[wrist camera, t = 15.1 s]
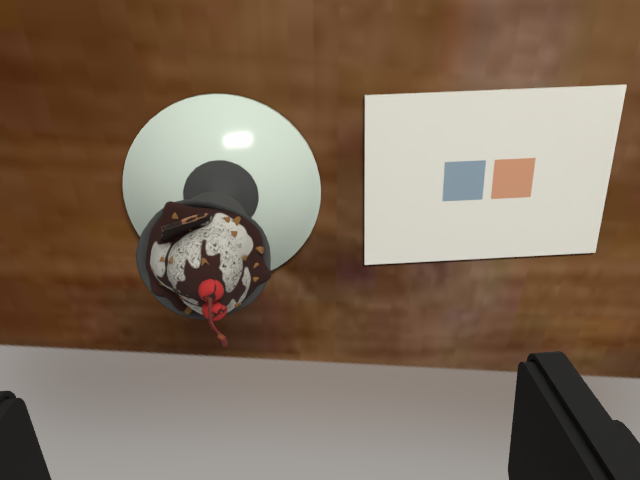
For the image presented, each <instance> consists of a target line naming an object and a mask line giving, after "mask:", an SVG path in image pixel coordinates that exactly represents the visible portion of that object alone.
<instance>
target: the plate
mask: <svg viewBox="0 0 640 480" xmlns="http://www.w3.org/2000/svg"><path fill="white" fill-rule="evenodd" d="M215 160H225V161H229V162H232V163H235V164H238V165H240V166H241V167H242V168H244V169H245V170H246V171H247V172H248V173H249V174H251V176H252V178H253V179H254V181H255V183H256V185H257V188H258V195H259V201H258V205H257V208H256V211H255V213H254V215H253V216H252V217H251V218H252V219H253V220H255V221H256V222H257V223H258V225H259V226H260V227H261V228H262V229H263V231H264V233H265V235H266V237H267V240H268V243H269V246H270V255H271V268H270V269H271V270H273V269H275V268H277V267H279V266H280V265H282V264H283V263H285V262H286V261H287V260H289V259H290V258H291V257H292V256H293V255H294V254H295V253H296V252H297V251H298V250H299V249H300V248H301V247H302V245H303V244H304V243H305V241H306V240H307V238H308V237H309V235H310V233H311V231H312V229H313V227H314V225H315V222H316V219H317V216H318V212H319V207H320V199H321V186H320V177H319V172H318V168H317V164H316V161H315V159H314V156H313V153H312V151H311V149H310V147H309V146H308V144H307V142H306V140H305V139H304V138H303V136H302V135H301V133H300V132H299V131H298V130H297V129H296V127H295V126H294V125H293V124H292V123H291V122H290V121H289V120H288V119H286V118H285V117H284V116H283V115H281V114H280V113H279V112H277V111H276V110H274V109H272V108H271V107H269V106H267V105H265V104H263V103H261V102H259V101H256V100H254V99H251V98H247V97H244V96H240V95H234V94H227V93H211V94H201V95H197V96H192V97H188V98H185V99H183V100H180V101H178V102H175V103H173V104H172V105H170V106H168V107H166V108H165V109H163V110H162V111H160V112H159V113H158V114H157V115H155V116H154V117H153V118H152V119H151V120H150V121H149V122H148V123H147V124H146V125H145V126H144V127H143V128H142V130H141V131H140V132H139V134H138V135H137V137H136V138H135V140H134V142H133V144H132V146H131V148H130V149H129V152H128V155H127V158H126V161H125V166H124V171H123V195H124V201H125V205H126V209H127V212H128V215H129V217H130V220H131V222H132V224H133V226H134V228H135V230H136V231H137V233H138V235H139V236H140V237H141V234H142V232H143V230H144V229H145V227H146V226H147V224H148V223H149V221H150V220H151V219H152V218H153V217H154V215H155V214H156V213H157V212H159V211H160V210H161V209H163V208H164V206H165V204H166V202H169V201H172V202H176V201H180V200H184V198H183V190H184V185H185V182H186V179H187V178H188V176H189V175H190V174H191V172H192V171H193V170H194V169H195V168H196V167H198V166H200V165H202V164H204V163H206V162H209V161H215Z"/></svg>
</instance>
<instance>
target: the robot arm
mask: <svg viewBox="0 0 640 480" xmlns="http://www.w3.org/2000/svg"><path fill="white" fill-rule="evenodd" d="M508 474H509V480H640V443H639V442H638V441H637V439H636V438H635V437H634V435H633V434H632V433H631V431H630V430H629V429H628V428H627V427H626V426H625V425H624V424H623V423H622V422H620V421H618V420H612V419H611V417H610V416H609V415H608V413H607V412H606V411H605V409H604V408H603V406H602V405H601V403H600V402H599V401H598V399H597V398H596V397H595V395H594V394H593V393H592V391H591V390H590V389H589V387H588V386H587V384H586V383H585V382H584V380H583V379H582V377H581V376H580V375H579V373H578V372H577V371H576V369H575V368H574V366H573V365H572V364H571V362H570V361H569V360H568V358H567V357H566V355H565V354H564V353H563V352H560V351H558V352H544V353H531V354H529V356H528V358H527V362H520V363H519V366H518V373H517V384H516V393H515V403H514V414H513V423H512V434H511V443H510V453H509V464H508ZM0 480H51V477H50V474H49V472H48V469H47V466H46V463H45V460H44V457H43V454H42V451H41V449H40V445H39V442H38V439H37V437H36V434H35V431H34V428H33V425H32V422H31V419H30V416H29V413H28V410H27V407H26V405H25V402H24V401H23V400H22V399H21V398H16V396H15V394H14V393H12V392H11V391H0Z"/></svg>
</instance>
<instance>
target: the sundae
mask: <svg viewBox="0 0 640 480" xmlns="http://www.w3.org/2000/svg"><path fill="white" fill-rule="evenodd" d="M183 198H184V200H180V201H176V202H172V201H169V202H166V204H165V206H164V208H163V209H161V210H160V211H159V212H157V213H156V214H155V215H154V217H153V218H152V219H151V220H150V221H149V223H148V224H147V226H146V227H145V229H144V230H143V232H142V234H141V237H140V239H139V242H138V246H137V252H136V261H137V267H138V271H139V274H140V276H141V278H142V280H143V282H144V284H145V285H146V286H147V288H148V289H149V291H150V292H151V293H152V294H153V296H154V297H155V298H156V299H157V300H158V301H159V302H160V303H161V304H163V305H164V306H165V307H167V308H168V309H170V310H171V311H173V312H174V313H176V314H179V315H182V316H185V317H188V318H194V319H199V320H200V319H208V323H209V325H210V328H211V329H212V330H213V331H214V332H215V333H216V334H217V335H218V336H217V337H218V338H219V339H220V344H221V346H222V347H227V345H228V341H227V338H226V336H224V335H223V334H221V333H220V332H219V331H218V330H217V328H216V327H215V326H214V323H213V321H217V320H221V319H223V318H224V316H226V315H229V314H231V313H234V312H236V311H238V310H240V309H242V308H244V307H246V306H248V305H249V304H250V303H252V302H253V301H254V300H255V299H256V298H257V297H258V296H259V295H260V293H261V292H262V291H263V289H264V287H265V285H266V283H267V281H268V280H269V279H270V277H271V269H270V268H271V255H270V246H269V243H268V240H267V237H266V235H265V233H264V231H263V229H262V228H261V227H260V226H259V225H258V223H257V222H256V221H255V220H253V219H252V218H251V217H252V216H253V215H254V213H255V211H256V208H257V205H258V201H259V195H258V188H257V185H256V183H255V181H254V179H253V178H252V176H251V174H249V173H248V172H247V171H246V170H245V169H244V168H242V167H241V166H240V165H238V164H235V163H232V162H229V161H225V160H215V161H209V162H206V163H204V164H202V165H200V166H198V167H196V168H195V169H194V170H193V171H192V172H191V174H190V175H189V176H188V178H187V179H186V182H185V185H184V190H183Z"/></svg>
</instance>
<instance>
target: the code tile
mask: <svg viewBox="0 0 640 480" xmlns="http://www.w3.org/2000/svg"><path fill="white" fill-rule="evenodd" d="M626 86H627V85H600V86H576V87H551V88H527V89H502V90H478V91H453V92H429V93H404V94H380V95H365V106H364V265H374V264H392V263H411V262H430V261H449V260H468V259H486V258H505V257H524V256H543V255H561V254H580V253H595V252H596V246H597V241H598V236H599V230H600V225H601V220H602V214H603V209H604V204H605V198H606V193H607V188H608V182H609V177H610V172H611V166H612V161H613V155H614V150H615V145H616V139H617V134H618V129H619V123H620V118H621V113H622V107H623V102H624V97H625V91H626Z"/></svg>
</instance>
